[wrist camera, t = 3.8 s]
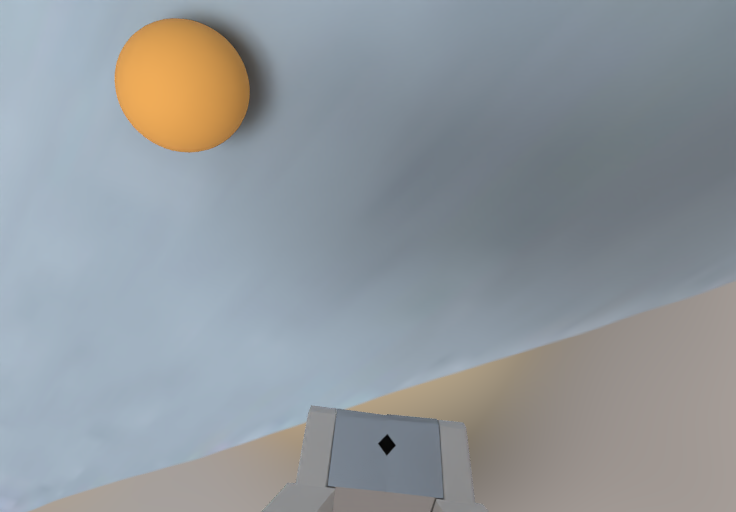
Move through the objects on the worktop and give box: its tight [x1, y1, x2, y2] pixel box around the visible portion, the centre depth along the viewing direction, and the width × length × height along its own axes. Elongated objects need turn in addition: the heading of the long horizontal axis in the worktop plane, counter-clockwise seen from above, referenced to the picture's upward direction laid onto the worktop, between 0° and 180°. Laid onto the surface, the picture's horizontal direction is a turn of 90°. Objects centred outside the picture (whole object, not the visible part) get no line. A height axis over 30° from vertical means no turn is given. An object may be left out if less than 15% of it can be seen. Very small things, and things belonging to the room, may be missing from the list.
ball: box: [115, 18, 250, 152], centre depth 25 cm, size 6×6×6 cm
